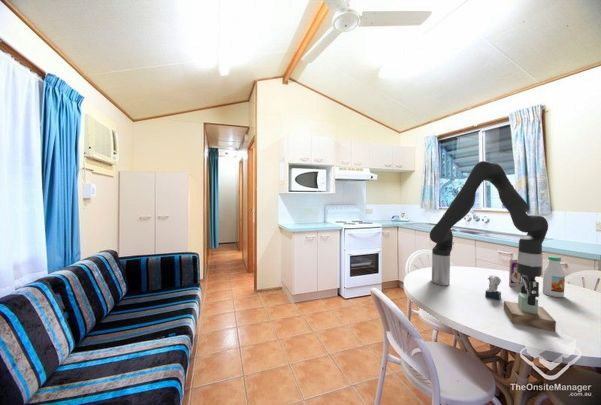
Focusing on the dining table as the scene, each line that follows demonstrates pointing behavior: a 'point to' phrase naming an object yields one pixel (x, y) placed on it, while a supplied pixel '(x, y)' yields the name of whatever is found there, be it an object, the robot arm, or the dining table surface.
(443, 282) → the robot arm
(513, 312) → the plinth
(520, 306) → the block
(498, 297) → the watch
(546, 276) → the milk bottle
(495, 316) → the dining table surface
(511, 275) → the greeting card
